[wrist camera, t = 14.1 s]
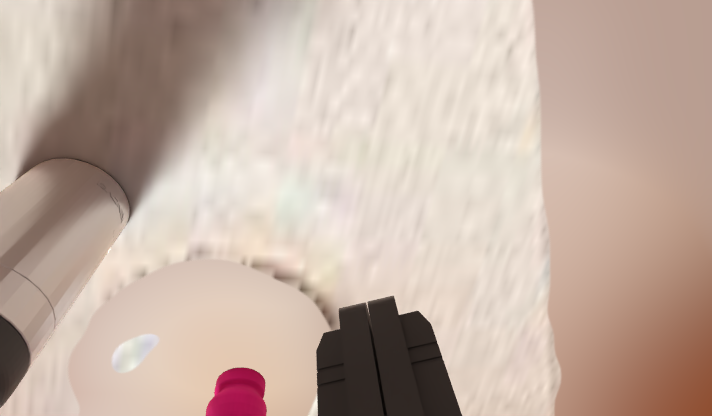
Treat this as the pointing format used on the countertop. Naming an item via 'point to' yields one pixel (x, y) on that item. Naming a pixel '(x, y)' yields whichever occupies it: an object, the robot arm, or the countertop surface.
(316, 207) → the countertop surface
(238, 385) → the pepper mill
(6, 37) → the countertop surface
